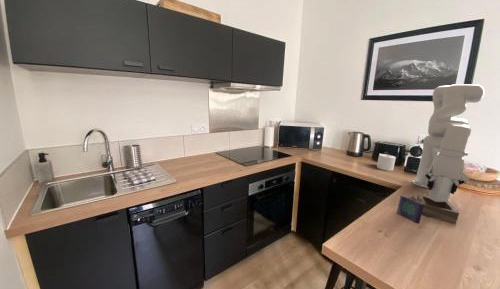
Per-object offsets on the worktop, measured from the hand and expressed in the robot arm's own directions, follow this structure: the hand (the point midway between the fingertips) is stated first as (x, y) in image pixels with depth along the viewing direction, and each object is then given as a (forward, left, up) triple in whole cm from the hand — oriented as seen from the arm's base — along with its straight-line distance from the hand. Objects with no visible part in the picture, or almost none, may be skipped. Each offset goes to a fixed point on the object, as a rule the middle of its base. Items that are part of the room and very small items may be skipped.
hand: (440, 190), depth 95 cm
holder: (0, 0, -11) cm, 11 cm away
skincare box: (0, 0, -5) cm, 5 cm away
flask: (+12, -12, -12) cm, 21 cm away
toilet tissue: (-64, -15, -12) cm, 67 cm away
